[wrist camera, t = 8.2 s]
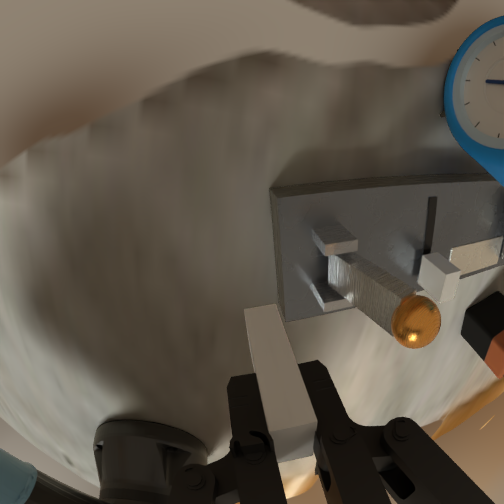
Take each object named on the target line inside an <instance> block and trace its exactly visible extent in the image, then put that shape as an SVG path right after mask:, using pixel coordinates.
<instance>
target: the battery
mask: <svg viewBox="0 0 504 504" xmlns="http://www.w3.org/2000/svg"><path fill="white" fill-rule="evenodd" d="M461 335H462V337H463V338H464V339H465V340H466V341H467V342H468V343H469V344H470V346H471V347H472V348H473V349H474V350H475V351H476V352H477V354H478V355H479V356H480V357H481V358H482V359H483V361H484V362H485V363H486V364H487V365H488V367H489V368H490V369H491V370H492V371H493V373H494V374H495V375H496V376H497V378H499V379H500V378H502V377H504V295H503V294H501V293H500V292H499V291H498V292H496V293H494V294H492V295H491V296H489V297H488V298H486V299H484V300H483V301H481V302H480V303H478V304H476V305H475V306H473V307H471V308H470V309H468V310H467V311H466V313H465V317H464V322H463V326H462V330H461Z"/></svg>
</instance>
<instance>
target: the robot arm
mask: <svg viewBox="0 0 504 504" xmlns="http://www.w3.org/2000/svg"><path fill="white" fill-rule="evenodd" d="M244 315H245V322H246V328H247V335H248V341H249V347H250V353H251V358H252V363H253V368H254V373H253V374H247V375H240V376H234V377H231V378H230V381H229V383H228V386H227V393H228V402H229V411H230V419H231V428H232V436H233V437H232V439H231V440H230V446H229V448H230V451H229V453H228V454H227V455H226V456H225V457H223V458H222V459H220V460H218V461H215V462H213V463H210V464H208V465H207V450H206V447H205V446H204V444H203V443H202V442H201V441H200V440H198V439H197V438H195V437H194V436H192V435H190V434H188V433H186V432H183V431H181V430H178V429H175V428H172V427H169V426H165V425H161V424H156V423H151V422H144V421H133V420H121V421H112V422H108V423H105V424H103V425H101V426H100V427H99V428H98V429H97V430H96V434H95V438H94V443H93V449H94V455H95V461H96V466H97V471H98V476H99V481H100V497H99V499H97V498H95V497H93V496H90V495H88V494H86V493H83V492H81V491H79V490H76V489H74V488H72V487H70V486H68V485H66V484H64V483H62V482H60V481H58V480H55V479H54V478H51V477H50V476H48V475H46V474H44V473H42V472H41V471H39V470H37V469H36V468H35V467H34V466H33V465H31V464H30V463H27V462H23V461H21V460H19V459H18V458H16V457H14V456H13V455H11V454H9V453H8V452H6V451H4V450H3V449H0V504H235V503H238V502H240V504H287V501H286V496H285V492H284V488H283V484H282V480H281V476H280V471H279V467H278V463H280V462H285V461H290V460H295V459H299V458H304V457H308V456H312V455H313V452H314V454H315V457H316V460H317V462H316V467H315V475H317V474H319V478H320V481H321V484H322V487H323V490H324V494H325V497H326V500H327V503H328V504H391V502H390V499H389V497H388V494H387V492H386V490H387V491H388V493H389V494H390V495H391V496H392V498H393V499H394V500H395V501H396V502H397V504H495V503H494V502H493V501H492V500H491V499H490V498H489V497H488V496H487V495H486V494H485V493H484V492H483V491H482V490H481V489H480V488H479V487H478V486H477V485H476V484H475V483H474V482H473V481H472V480H471V479H470V478H469V477H468V476H467V475H466V473H464V471H462V469H461V468H460V467H459V466H458V465H457V464H456V463H454V461H453V460H452V459H451V458H450V457H449V456H448V455H447V454H446V453H445V452H444V451H443V450H442V449H441V448H440V447H439V446H438V445H437V444H436V443H435V442H434V441H433V440H432V439H431V438H430V437H429V436H428V435H427V434H426V433H425V432H424V431H423V429H422V428H421V427H420V426H419V425H418V424H417V423H416V422H414V421H413V420H411V419H410V418H406V417H397V418H395V419H392V420H390V421H389V422H388V423H387V424H386V426H362V425H358V424H357V423H355V422H353V421H352V420H351V419H350V418H349V416H348V415H347V413H346V410H345V408H344V406H343V404H342V401H341V399H340V397H339V394H338V392H337V390H336V388H335V386H334V383H333V381H332V379H331V377H330V374H329V372H328V370H327V368H326V367H325V366H324V365H323V364H322V363H321V362H320V361H318V360H315V361H310V362H306V363H301V364H297V362H296V359H295V356H294V354H293V351H292V348H291V345H290V342H289V340H288V337H287V334H286V331H285V328H284V326H283V323H282V320H281V317H280V314H279V312H278V309H277V306H276V304H270V305H264V306H258V307H253V308H246V309H244ZM385 489H386V490H385Z"/></svg>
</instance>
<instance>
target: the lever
mask: <svg viewBox="0 0 504 504" xmlns="http://www.w3.org/2000/svg"><path fill="white" fill-rule="evenodd" d="M328 285H329V286H330V287H331V288H333V289H334V290H335V291H336V292H338V293H339V294H340V295H342V296H343V297H344V298H345V299H347V300H348V301H349V302H350V303H352V304H353V305H354V306H355V307H357V308H358V309H359V310H360V311H362V312H363V313H364V314H365V315H367V316H368V317H369V318H370V319H372V320H373V321H374V322H375V323H377V324H378V325H379V326H380V327H382V328H383V329H384V330H385V331H387V332H388V333H389V334H390V335H392V336H394V337H395V339H396V340H397V341H398V342H399V343H400V344H401V345H403V346H405V347H407V348H412V349H417V348H422V347H424V346H426V345H428V344H429V343H431V342H432V341H433V340H434V339H435V337H436V336H437V334H438V332H439V329H440V326H441V315H440V311H439V309H438V307H437V305H436V304H435V303H434V302H433V301H432V300H431V299H429V298H427V297H425V296H420V295H416V291H417V290H416V289H414V288H413V287H411V286H410V285H408V284H406V283H405V282H403V281H402V280H400V279H398V278H397V277H395V276H393V275H392V274H390V273H389V272H387V271H385V270H384V269H382V268H380V267H379V266H377V265H375V264H374V263H372V262H370V261H369V260H367V259H365V258H364V257H362V256H360V255H358V254H357V253H355V252H348V253H342V254H336V255H330V256H329V268H328Z"/></svg>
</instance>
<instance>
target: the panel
mask: <svg viewBox="0 0 504 504" xmlns="http://www.w3.org/2000/svg"><path fill="white" fill-rule="evenodd" d="M269 192H270V203H271V214H272V225H273V237H274V249H275V261H276V274H277V287H278V300H279V305H280V307H281V310H282V313H283V316H284V319H285V322H288V321H293V320H299V319H304V318H309V317H314V316H319V315H323V314H328V313H333V312H337V311H342V310H346V309H351V308H355V306H354V305H353V304H352V303H350V302H349V301H348V300H347V299H345V298H344V297H343V296H342V295H340V294H339V293H338V292H336V291H335V290H334V289H333V288H331V287H330V286H329V285H328V268H329V256H330V255H336V254H342V253H348V252H355V253H357V254H358V255H360V256H362V257H364V258H365V259H367V260H369V261H370V262H372V263H374V264H375V265H377V266H379V267H380V268H382V269H384V270H385V271H387V272H389V273H390V274H392V275H393V276H395V277H397V278H398V279H400V280H402V281H403V282H405V283H406V284H408V285H410V286H411V287H413V288H414V289H416V290H417V291H416V292H418V291H422V290H424V289H423V288H422V287H421V286H420V285H419V284H418V278H419V273H420V267H421V261H422V255H427V254H431V253H436V252H438V253H439V254H441V255H442V256H443V257H445V258H446V259H447V260H448V261H450V262H451V263H452V264H454V265H455V266H456V267H457V268H459V269H460V270H461V274H460V278H459V279H462V278H465V277H468V276H471V275H474V274H477V273H480V272H483V271H486V270H489V269H492V268H495V267H498V266H501V265H504V187H503V186H502V185H501V184H500V183H499V182H498V181H497V180H496V179H495V178H494V177H493V176H492V175H491V174H441V175H415V176H396V177H380V178H366V179H353V180H342V181H331V182H320V183H311V184H301V185H292V186H284V187H275V188H269Z"/></svg>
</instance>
